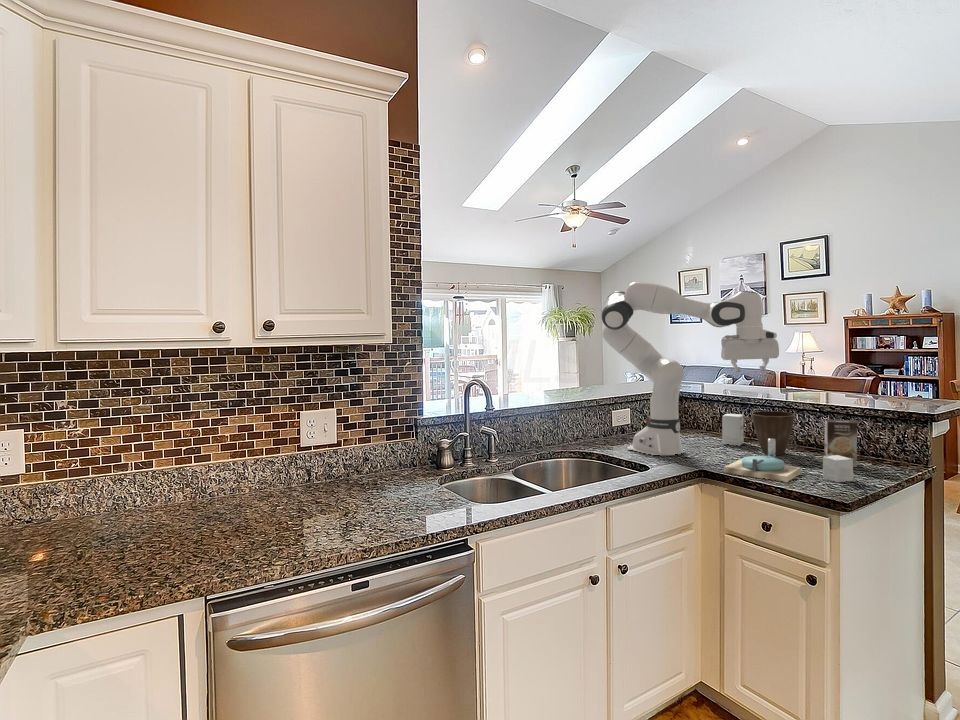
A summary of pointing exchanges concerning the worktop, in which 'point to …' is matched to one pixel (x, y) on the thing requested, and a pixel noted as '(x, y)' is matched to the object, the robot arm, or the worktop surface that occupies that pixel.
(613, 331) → the robot arm
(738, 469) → the dial base
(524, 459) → the worktop surface
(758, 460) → the dial
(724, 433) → the supplement box
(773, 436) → the plant pot
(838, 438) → the coffee box
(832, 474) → the skincare box
